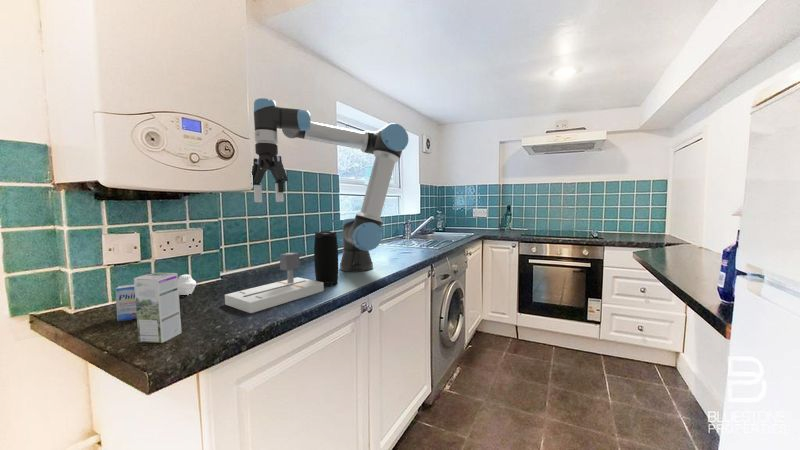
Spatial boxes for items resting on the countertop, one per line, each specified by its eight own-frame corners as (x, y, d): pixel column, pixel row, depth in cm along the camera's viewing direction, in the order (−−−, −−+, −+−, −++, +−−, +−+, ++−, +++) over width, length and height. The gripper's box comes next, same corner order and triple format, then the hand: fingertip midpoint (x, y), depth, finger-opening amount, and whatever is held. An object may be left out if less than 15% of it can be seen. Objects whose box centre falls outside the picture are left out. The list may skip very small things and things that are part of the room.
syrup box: (182, 333, 73) (179, 271, 72) (161, 344, 67) (156, 277, 66) (160, 332, 73) (156, 271, 72) (136, 343, 67) (132, 277, 66)
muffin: (197, 295, 103) (196, 274, 103) (174, 298, 100) (173, 277, 99) (196, 290, 108) (194, 271, 108) (174, 294, 105) (173, 273, 104)
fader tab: (293, 280, 107) (292, 252, 106) (300, 282, 105) (299, 252, 104) (280, 283, 103) (279, 254, 102) (287, 285, 101) (286, 255, 100)
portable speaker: (315, 288, 110) (313, 233, 109) (315, 281, 119) (314, 231, 118) (339, 286, 112) (338, 232, 111) (338, 280, 121) (336, 230, 120)
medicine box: (116, 322, 80) (114, 288, 79) (120, 316, 84) (118, 285, 83) (155, 315, 84) (153, 284, 84) (157, 311, 88) (155, 281, 88)
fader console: (297, 285, 115) (297, 276, 114) (323, 290, 107) (323, 281, 106) (225, 304, 93) (224, 294, 93) (250, 313, 85) (250, 302, 85)
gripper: (238, 146, 117) (240, 202, 119) (277, 137, 103) (280, 201, 105) (256, 148, 123) (259, 202, 125) (296, 141, 109) (298, 201, 111)
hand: (268, 202), depth 115 cm, fingers open, 13 cm apart
